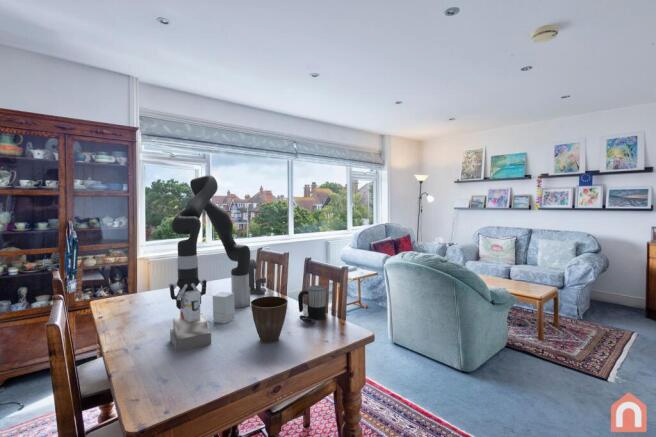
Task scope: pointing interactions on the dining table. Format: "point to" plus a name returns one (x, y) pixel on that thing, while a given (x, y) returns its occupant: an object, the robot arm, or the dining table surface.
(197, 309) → the ink box
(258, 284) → the faucet
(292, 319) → the dining table surface
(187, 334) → the tower top block
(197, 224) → the robot arm
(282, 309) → the plant pot
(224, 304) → the supplement box
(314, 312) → the milk frother
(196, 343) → the tower base block
